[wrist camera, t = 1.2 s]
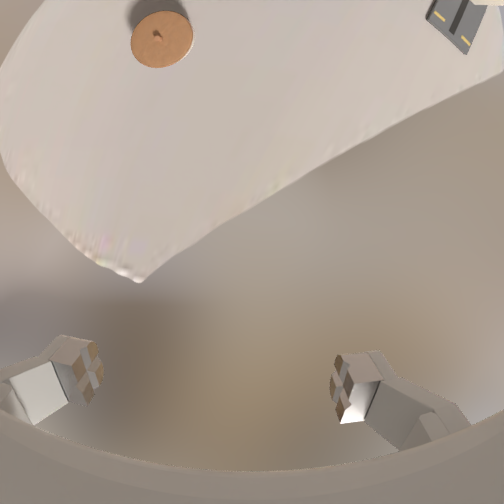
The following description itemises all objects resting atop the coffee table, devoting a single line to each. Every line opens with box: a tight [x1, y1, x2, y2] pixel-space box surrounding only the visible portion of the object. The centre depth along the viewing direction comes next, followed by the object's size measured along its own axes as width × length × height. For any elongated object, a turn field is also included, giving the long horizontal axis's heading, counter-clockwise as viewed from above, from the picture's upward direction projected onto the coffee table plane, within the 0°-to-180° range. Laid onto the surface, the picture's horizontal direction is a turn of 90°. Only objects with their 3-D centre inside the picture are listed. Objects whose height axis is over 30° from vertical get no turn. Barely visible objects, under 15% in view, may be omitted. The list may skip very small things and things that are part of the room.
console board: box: [427, 0, 487, 55], centre depth 28 cm, size 20×12×1 cm, turn 158°
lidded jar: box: [131, 11, 195, 68], centre depth 37 cm, size 11×11×9 cm
